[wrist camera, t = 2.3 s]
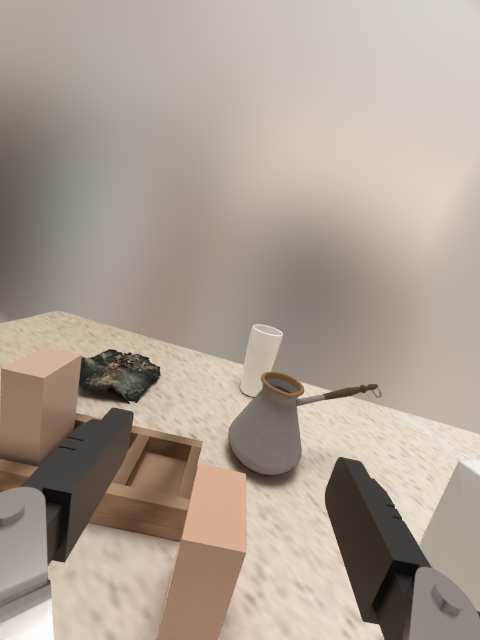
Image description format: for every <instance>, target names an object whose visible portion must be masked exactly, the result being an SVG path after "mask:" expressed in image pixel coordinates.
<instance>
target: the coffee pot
mask: <svg viewBox="0 0 480 640" xmlns="http://www.w3.org/2000/svg"><path fill="white" fill-rule="evenodd" d="M261 381H262V383H263V387H262V390H261V391H260V392H259V393H258V394H257V395H256V396H255V398H254V399H253V400H252V401H251V402H250V403H249V404H248V405H247V406H246V408H245V409H244V410H243V411H242V412H241V413H240V414H239V415H238V417H237V418H236V419H235V420H234V421H233V422H232V424H231V426H230V428H229V436H228V437H229V442H230V445H231V449H232V450H233V452H234V453H235V455H236V456H237V458H238V459H239V460H240V461H241V462H242V463H243V464H244V465H245V466H246V467H247V468H248V469H250V470H251V471H254V472H256V473H258V474H263V475H275V474H282V473H285V472H288V471H289V470H291V469H292V468H293V467H295V466H296V465H297V464H298V462H299V460H300V458H301V450H302V449H301V440H300V432H299V423H298V415H297V406H300V405H304V404H308V403H312V402H317V401H321V400H328V399H335V398H341V397H348V396H352V395H354V394H357V393H360V392H362V393H365V392H366V391H367V390H372V391H373V390H374V389H376V388H377V389H378V390H379V392H380V397H381V391H380V389H379V388H378V385H377V384H370V385H368V386H364V385H361V386H360V387H354V388H345V389H341V390H337V391H333V392H330V393H326V394H323V395H319V396H313V397H308V398H302V399H297V398H298V397H299V396H301V395H302V394H303V393H304V387H303V385H302V384H301V383H300V382H299V381H297V380H296V379H294V378H292V377H290V376H288V375H285V374H282V373H278V372H266V373H264V374H262V376H261ZM373 393H374V391H373ZM374 395H375V396H376V394H375V393H374ZM376 397H378V396H376Z"/></svg>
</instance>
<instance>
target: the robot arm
mask: <svg viewBox="0 0 480 640" xmlns="http://www.w3.org/2000/svg"><path fill="white" fill-rule="evenodd" d="M133 415H134V414H133V412H132V411H127V410H123V409H118V408H111V409H110V411H109V412H108V413H107V414H106V415H105V416H104V417H103V419H102V420H98V419H94V418H93V419H91V420H89V421H87V422H85V423H84V424H82V425H80V426H78V427H77V428H76V429H75V430H74V431H73V432H72V433H71V434H70V436H69V437H68V439H66V440H65V441H64V442H63V443H62V444H61V445H60V446H59V448H57V449H56V450H55V451H54V452H53V453H52V454H51V455H50V456H49V457H48V458H47V459H46V460H45V461H44V462H43V463H42V464H41V465H40V466H39V467H38V468H37V469H36V470H35V471H34V472H33V474H32V475H31V476H30V477H29V478H28V479H27V480H26V481H25V482H24V483H23V484H22V485H21V486H20V487H17V488H13V489H9V490H6V491H3V492H1V493H0V640H53V621H52V597H51V584H50V580H48V565H49V564H50V562H51V561H52V560H54V561H59V562H64V563H65V561H66V559H67V558H68V556H69V554H70V553H71V551H72V549H73V547H74V546H75V544H76V542H77V541H78V539H79V537H80V535H81V534H82V532H83V530H84V529H85V527H86V525H87V524H88V522H89V520H90V518H91V517H92V515H93V513H94V512H95V510H96V508H97V506H98V505H99V503H100V501H101V500H102V498H103V496H104V495H105V493H106V491H107V489H108V488H109V486H110V484H111V483H112V481H113V479H114V478H115V476H116V474H117V472H118V471H119V469H120V467H121V466H122V464H123V462H124V459H125V457H126V454H127V451H128V447H129V442H130V435H131V429H132V423H133ZM325 505H326V509H327V512H328V515H329V518H330V521H331V524H332V527H333V530H334V534H335V537H336V540H337V543H338V546H339V549H340V552H341V555H342V558H343V561H344V564H345V567H346V571H347V574H348V577H349V580H350V583H351V586H352V589H353V592H354V595H355V598H356V601H357V605H358V608H359V611H360V614H361V617H362V620H363V622H368V623H374V624H379V625H380V628H381V630H382V633H383V636H382V638H381V640H480V612H478V611H476V609H475V607H474V605H473V604H472V602H471V601H470V599H469V598H468V597H467V595H466V594H465V593H464V592H463V591H462V590H461V589H460V588H459V587H458V586H457V585H456V584H455V583H454V582H453V581H452V580H451V579H449V578H448V577H447V576H445V575H444V574H442V573H441V572H439V571H437V570H435V569H432V567H431V565H430V564H429V562H428V560H427V559H426V557H425V555H424V554H423V552H422V550H421V549H420V547H419V545H418V544H417V542H416V540H415V539H414V537H413V535H412V534H411V532H410V530H409V529H408V527H407V525H406V524H405V522H404V521H402V517H401V515H400V514H399V512H398V510H397V509H395V505H394V504H393V502H392V500H391V499H390V497H389V496H388V494H387V492H386V491H385V490H384V489H383V488H382V487H381V486H380V485H379V484H378V483H377V482H376V481H375V479H372V478H370V476H369V474H368V472H367V471H366V469H365V467H364V465H363V464H362V463H361V462H360V461H357V460H352V459H348V458H343V457H339V458H338V459H337V461H336V464H335V466H334V469H333V471H332V474H331V477H330V479H329V482H328V485H327V487H326V491H325Z"/></svg>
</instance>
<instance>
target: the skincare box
mask: <svg viewBox="0 0 480 640" xmlns="http://www.w3.org/2000/svg"><path fill="white" fill-rule="evenodd" d="M419 547H420V549H421V550H422V552H423V554H424V555H425V557H426V559H427V560H428V562H429V564H430V565H431V567H432V569H435V570H437V571H439V572H441V573H442V574H444V575H445V576H447V577H448V578H449V579H451V580H452V581H453V582H454V583H455V584H456V585H457V586H458V587H459V588H460V589H461V590H462V591H463V592H464V593H465V594H466V595H467V597H468V598H469V599H470V601H471V602H472V604H473V605H474V607H475V609H476V611H478V612H480V460H459V461H458V464H457V466H456V468H455V470H454V472H453V474H452V476H451V478H450V481H449V483H448V485H447V487H446V489H445V491H444V493H443V496H442V498H441V500H440V502H439V504H438V506H437V508H436V510H435V512H434V514H433V517H432V519H431V521H430V523H429V525H428V527H427V529H426V531H425V533H424V536H423V538H422V540H421V542H420V544H419Z"/></svg>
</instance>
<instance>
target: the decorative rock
mask: <svg viewBox="0 0 480 640" xmlns="http://www.w3.org/2000/svg"><path fill="white" fill-rule="evenodd" d="M148 359H149V358H148V357H144V356H141V355H139V354H132V353H128V354H126V353H121V352H117V351H116V350H111V349H109V350H107V351H105V352H103V353H101V354H99V355H97V356H95V357H91V358H85V357H82V358H81V368H80V377H79V378H80V379H79V386H82V387H84V388H85V389H94V390H102V391H107V390H109V389H111V388H113V389H114V390H115V392H117V393H120V394H121V395H122V396H123V397H124V398H125V400H126V402H127V403H129V402H128V401H133V402H135V403H137V401H138V400H139V398H140V396H141V393H142V392H143V391H144V390H145V391H146V389H147V387H148V385H149V384H150V382H151V381H152V380H156V379H157V378H160V377H159V376H161V375H160V372H159V371H160V367H158V366H156V365H154V364H152V363H150V361H149V360H148Z"/></svg>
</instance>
